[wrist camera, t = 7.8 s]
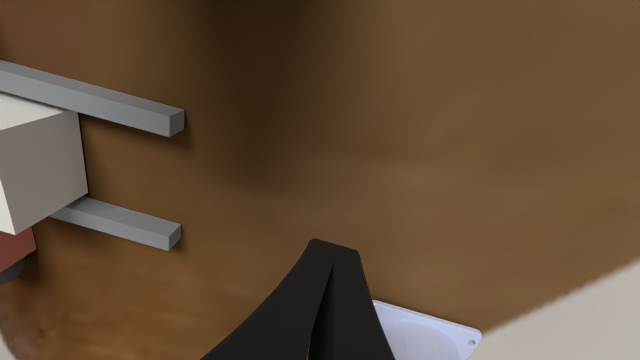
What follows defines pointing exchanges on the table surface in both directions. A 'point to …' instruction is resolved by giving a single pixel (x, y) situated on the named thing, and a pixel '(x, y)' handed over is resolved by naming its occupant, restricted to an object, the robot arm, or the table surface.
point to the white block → (37, 161)
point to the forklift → (9, 250)
